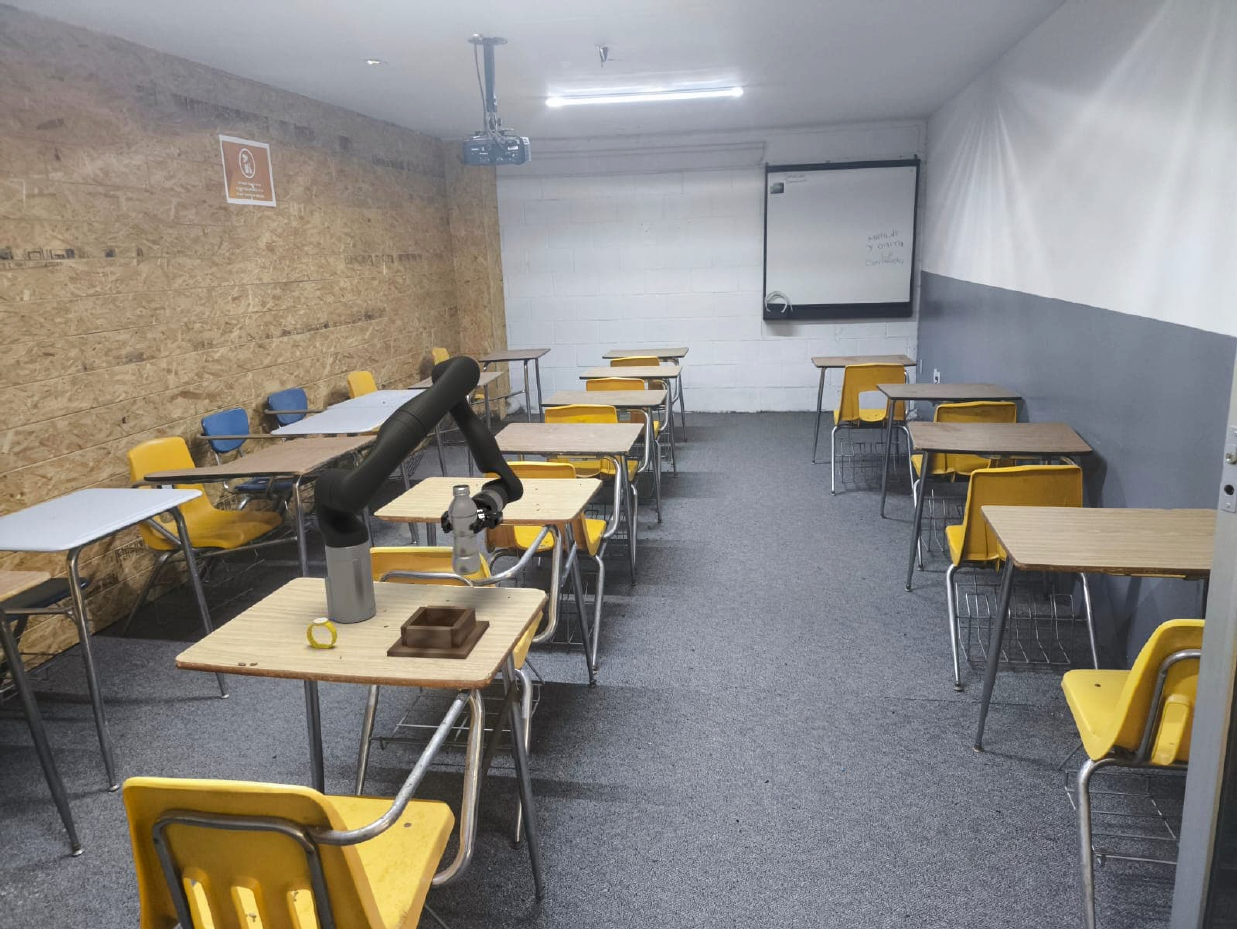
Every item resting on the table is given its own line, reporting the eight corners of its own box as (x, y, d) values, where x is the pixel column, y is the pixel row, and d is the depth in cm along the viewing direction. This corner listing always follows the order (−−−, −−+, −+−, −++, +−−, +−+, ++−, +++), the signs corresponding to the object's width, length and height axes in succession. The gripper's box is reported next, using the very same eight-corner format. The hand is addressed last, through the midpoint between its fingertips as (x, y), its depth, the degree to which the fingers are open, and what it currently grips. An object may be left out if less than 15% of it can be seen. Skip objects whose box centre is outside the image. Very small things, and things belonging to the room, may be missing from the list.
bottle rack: (387, 656, 156) (384, 632, 154) (418, 623, 171) (416, 601, 170) (465, 659, 153) (463, 635, 152) (489, 625, 169) (488, 603, 168)
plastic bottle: (485, 568, 179) (479, 482, 174) (477, 579, 172) (471, 490, 168) (457, 568, 179) (451, 482, 175) (448, 578, 173) (441, 490, 168)
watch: (339, 646, 161) (338, 619, 160) (332, 652, 159) (331, 624, 157) (312, 642, 162) (311, 615, 161) (305, 648, 160) (303, 621, 158)
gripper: (453, 492, 187) (426, 512, 171) (511, 493, 185) (491, 513, 169) (455, 523, 189) (429, 545, 173) (513, 524, 187) (493, 546, 171)
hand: (460, 529), depth 171 cm, fingers closed on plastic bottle, 6 cm apart
